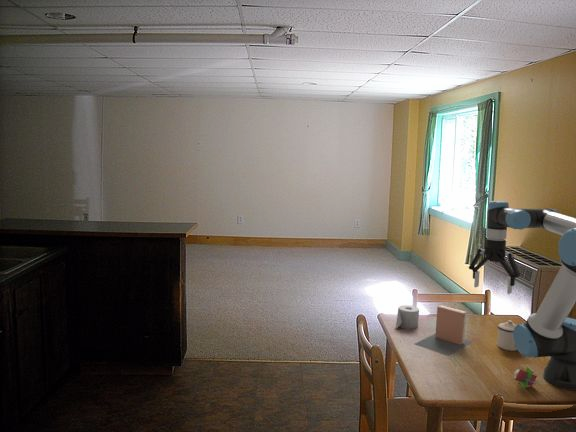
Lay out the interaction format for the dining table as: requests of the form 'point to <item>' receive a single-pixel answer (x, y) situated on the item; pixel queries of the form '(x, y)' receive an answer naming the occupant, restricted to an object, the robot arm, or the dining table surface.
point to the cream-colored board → (450, 324)
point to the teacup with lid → (506, 336)
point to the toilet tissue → (407, 317)
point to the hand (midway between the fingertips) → (492, 290)
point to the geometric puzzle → (525, 377)
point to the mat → (441, 345)
